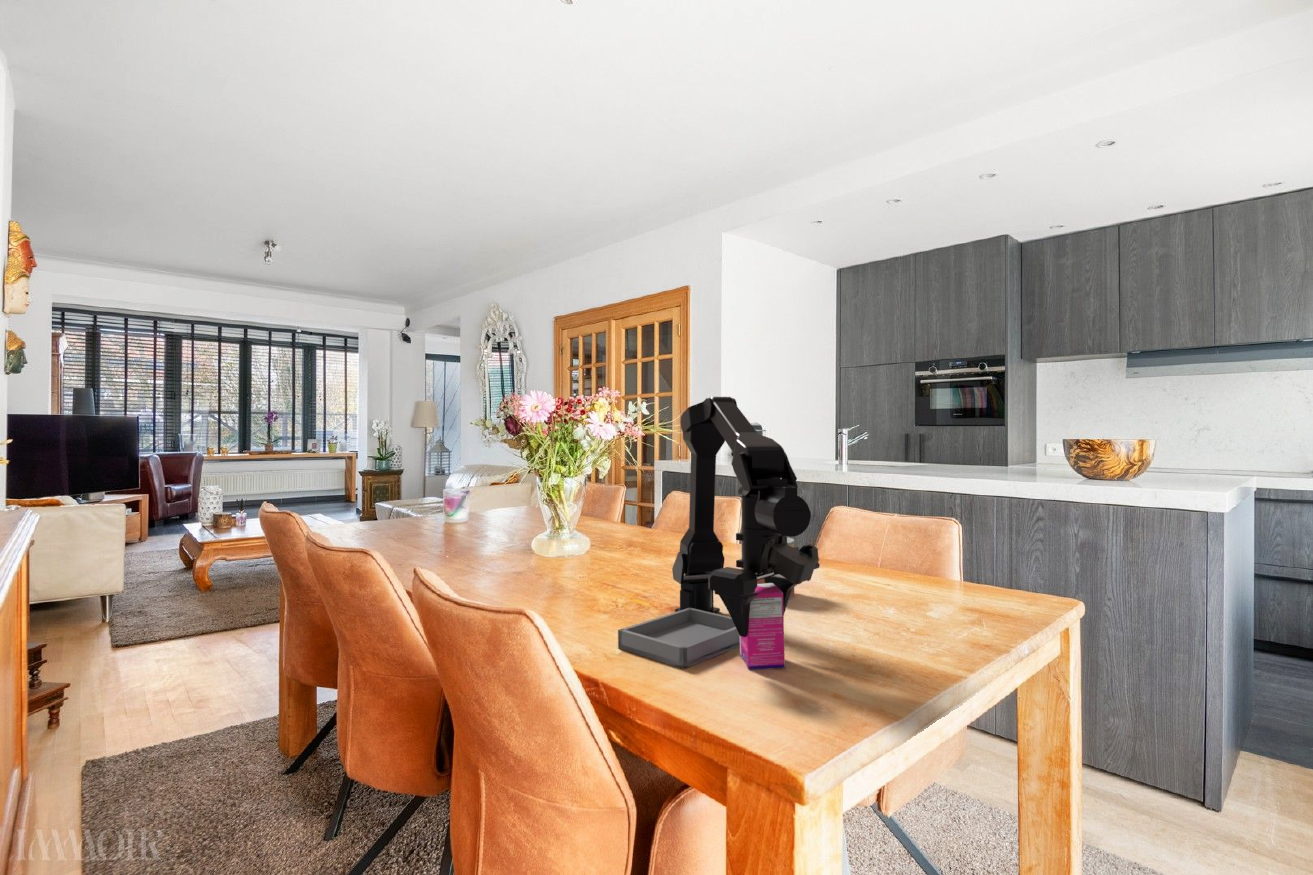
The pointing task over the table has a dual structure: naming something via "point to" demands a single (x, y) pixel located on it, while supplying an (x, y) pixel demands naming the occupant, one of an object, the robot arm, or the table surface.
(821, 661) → the table surface
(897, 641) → the table surface
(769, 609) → the supplement box
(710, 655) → the tray
